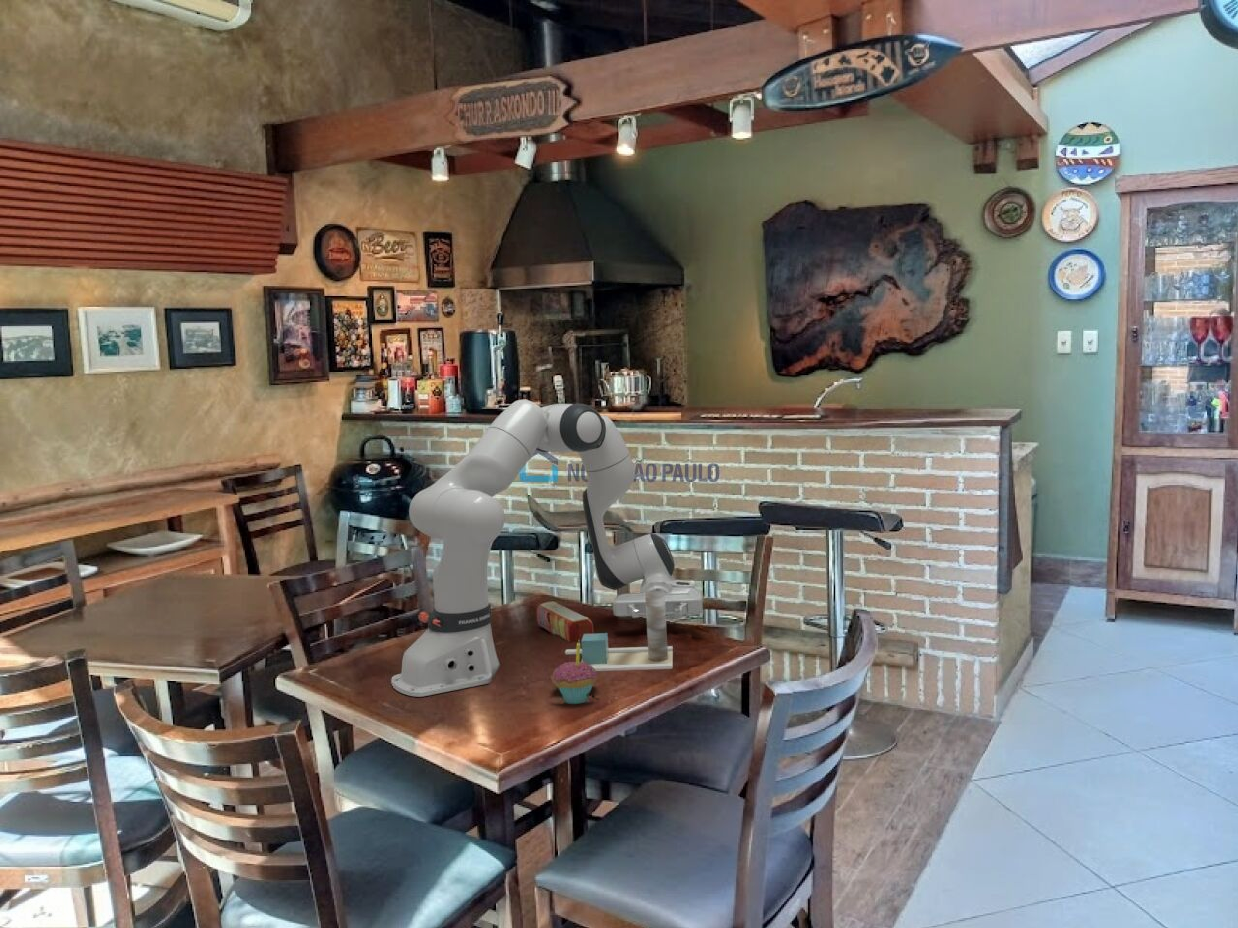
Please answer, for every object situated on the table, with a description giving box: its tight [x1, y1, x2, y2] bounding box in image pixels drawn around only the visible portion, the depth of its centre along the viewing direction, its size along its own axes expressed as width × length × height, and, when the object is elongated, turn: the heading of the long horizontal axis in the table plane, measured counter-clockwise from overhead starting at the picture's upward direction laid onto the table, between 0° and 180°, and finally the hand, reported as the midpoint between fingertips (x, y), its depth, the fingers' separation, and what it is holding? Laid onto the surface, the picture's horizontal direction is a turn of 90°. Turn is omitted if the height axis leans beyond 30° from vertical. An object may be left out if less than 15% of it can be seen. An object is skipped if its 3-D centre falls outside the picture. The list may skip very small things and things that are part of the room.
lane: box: [564, 645, 674, 672], centre depth 189 cm, size 23×13×2 cm, turn 86°
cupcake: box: [550, 640, 598, 705], centre depth 171 cm, size 9×8×12 cm
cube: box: [580, 632, 609, 664], centre depth 189 cm, size 5×5×5 cm
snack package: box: [536, 601, 595, 643], centre depth 213 cm, size 21×7×7 cm, turn 26°
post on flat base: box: [580, 590, 674, 666], centre depth 188 cm, size 19×9×15 cm, turn 86°
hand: (657, 613), depth 199 cm, fingers open, 8 cm apart
